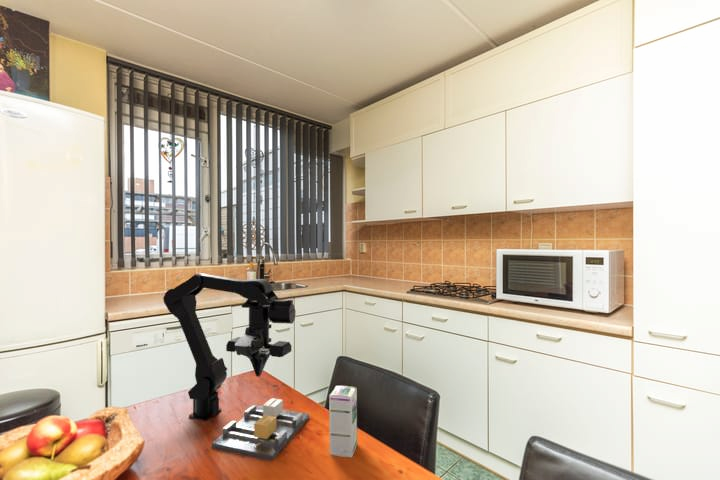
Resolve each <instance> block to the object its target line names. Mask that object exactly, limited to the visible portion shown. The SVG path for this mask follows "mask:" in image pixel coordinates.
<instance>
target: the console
mask: <svg viewBox="0 0 720 480" xmlns="http://www.w3.org/2000/svg"><path fill="white" fill-rule="evenodd" d="M261 417H263V405H258V406H257V405H253V404H252V405H251V406H250V407H248V408H247V409H246V410H245V411H243V417H242V418H241V419H240V420H239V421H236V420H232V421H230V422H229V423H227V424H226V425H225V426H224V427H222V434H221V435H220V436H218V437H217V438H216V439H215V440H214V441H212V442H211V449H216V450H220V451H224V452H230V453H233V454H238V455H241V456H248V457H253V458H257V459H262V460H266V461H270V462H272V461H273V460H274V459H276V457H277V456H278V455H279V454H280V452H281V451H282V450H283V449H284V448H285V446H286V445H288V443H289V442H290V441H291V439H293V437H294V436H295V435H296V434H297V433H298V432H299V430H300V429H301V428H302V427H303V426H304V425H305V424H306V422H308V420H309V419H310V413H307V412H306V413H305V412H299V411H293V410H287V409H283V411H282V412H281V413H280V414H279V415H278V416H277V419H276V430H275V431H274V432H273V433H272V434H271V435H270V438H269V439H263V438H258V437H254V423H256V422H257V421H258V420H259V419H260V418H261Z"/></svg>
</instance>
